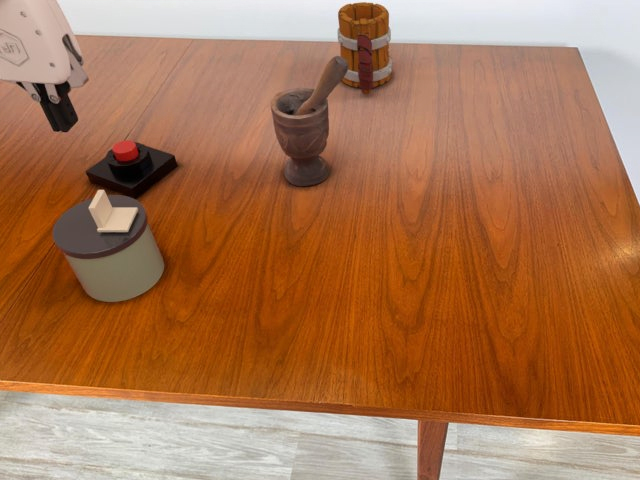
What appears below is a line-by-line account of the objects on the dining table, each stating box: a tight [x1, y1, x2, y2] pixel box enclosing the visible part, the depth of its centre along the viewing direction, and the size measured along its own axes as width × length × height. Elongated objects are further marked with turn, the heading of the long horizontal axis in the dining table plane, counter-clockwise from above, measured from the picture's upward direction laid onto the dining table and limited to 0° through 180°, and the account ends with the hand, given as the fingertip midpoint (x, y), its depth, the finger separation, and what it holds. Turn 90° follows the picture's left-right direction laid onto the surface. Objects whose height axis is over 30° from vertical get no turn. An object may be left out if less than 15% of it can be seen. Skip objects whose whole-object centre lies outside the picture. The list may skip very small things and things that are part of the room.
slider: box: [89, 189, 138, 232], centre depth 73 cm, size 4×4×4 cm
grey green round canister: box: [52, 194, 165, 303], centre depth 78 cm, size 11×11×9 cm
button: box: [111, 139, 139, 161], centre depth 93 cm, size 4×4×2 cm
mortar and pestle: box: [270, 55, 348, 187], centre depth 89 cm, size 12×9×20 cm
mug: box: [337, 1, 393, 95], centre depth 111 cm, size 11×16×15 cm, turn 2°
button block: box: [85, 139, 179, 200], centre depth 95 cm, size 10×10×4 cm
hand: (66, 125), depth 73 cm, fingers closed
